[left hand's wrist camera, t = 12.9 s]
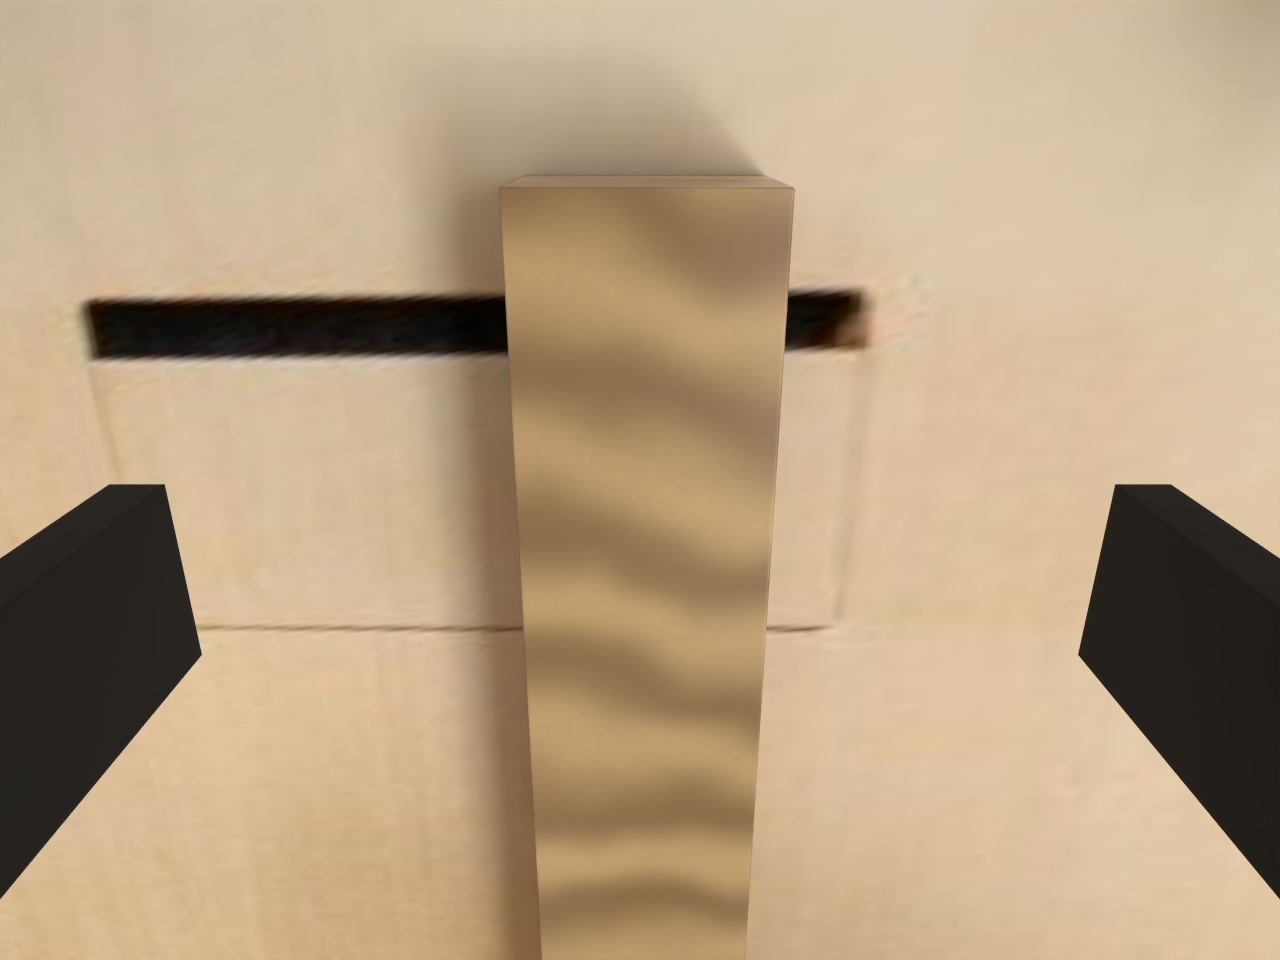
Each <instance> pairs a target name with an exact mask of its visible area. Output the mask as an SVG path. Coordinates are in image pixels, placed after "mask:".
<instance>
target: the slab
mask: <svg viewBox="0 0 1280 960" xmlns="http://www.w3.org/2000/svg"><path fill="white" fill-rule="evenodd" d="M794 193H795V189H794V188H793V187H791V186H788V185H786V184H784V183H781V182H779V181H777V180H774V179H772V178H770V177H767V176H639V175H525V176H523V177H521V178H519V179H517V180H515V181H512V182H510V183H508V184H506V185H504V186H502V187H500V189H499V194H500V212H501V230H502V248H503V266H504V284H505V303H506V321H507V339H508V357H509V375H510V393H511V411H512V430H513V448H514V466H515V484H516V502H517V520H518V538H519V556H520V575H521V593H522V611H523V629H524V647H525V665H526V683H527V702H528V720H529V738H530V756H531V774H532V792H533V810H534V829H535V847H536V865H537V883H538V901H539V919H540V937H541V956H542V960H745V949H746V933H747V918H748V903H749V887H750V872H751V856H752V841H753V826H754V810H755V795H756V779H757V764H758V748H759V733H760V718H761V702H762V687H763V671H764V656H765V641H766V625H767V610H768V594H769V579H770V563H771V548H772V533H773V517H774V502H775V486H776V471H777V456H778V440H779V425H780V409H781V394H782V378H783V363H784V348H785V332H786V317H787V301H788V286H789V271H790V255H791V240H792V224H793V209H794Z"/></svg>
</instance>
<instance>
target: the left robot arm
mask: <svg viewBox="0 0 1280 960" xmlns="http://www.w3.org/2000/svg"><path fill="white" fill-rule="evenodd" d="M201 655H202V653H201V649H200V644H199V639H198V635H197V630H196V626H195V621H194V617H193V612H192V607H191V603H190V598H189V594H188V589H187V584H186V580H185V575H184V571H183V566H182V562H181V557H180V552H179V548H178V543H177V539H176V534H175V530H174V525H173V520H172V516H171V511H170V507H169V502H168V497H167V493H166V488H165V484H109V485H108V486H106V487H105V488H103V489H102V490H100V491H99V492H97V493H96V494H94V495H93V496H92V497H90V498H89V499H87V500H86V501H84V502H83V503H81V504H80V505H78V506H77V507H75V508H74V509H72V510H71V511H69V512H68V513H66V514H65V515H64V516H62V517H61V518H59V519H58V520H56V521H55V522H53V523H52V524H50V525H49V526H47V527H46V528H44V529H43V530H41V531H40V532H39V533H37V534H36V535H34V536H33V537H31V538H30V539H28V540H27V541H25V542H24V543H22V544H21V545H19V546H18V547H16V548H15V549H13V550H12V551H11V552H9V553H8V554H6V555H5V556H3V557H2V558H0V899H1V898H2V896H3V895H4V894H5V893H6V892H7V890H8V889H9V888H10V887H11V885H12V884H13V883H14V882H15V881H16V879H17V878H18V877H19V876H20V875H21V873H22V872H23V871H24V870H25V868H26V867H27V866H28V865H29V864H30V862H31V861H32V860H33V859H34V858H35V856H36V855H37V854H38V853H39V852H40V850H41V849H42V848H43V847H44V845H45V844H46V843H47V842H48V841H49V839H50V838H51V837H52V836H53V835H54V833H55V832H56V831H57V830H58V829H59V827H60V826H61V825H62V824H63V822H64V821H65V820H66V819H67V818H68V816H69V815H70V814H71V813H72V812H73V810H74V809H75V808H76V807H77V805H78V804H79V803H80V802H81V801H82V799H83V798H84V797H85V796H86V795H87V793H88V792H89V791H90V790H91V789H92V787H93V786H94V785H95V784H96V782H97V781H98V780H99V779H100V778H101V776H102V775H103V774H104V773H105V772H106V770H107V769H108V768H109V767H110V765H111V764H112V763H113V762H114V761H115V759H116V758H117V757H118V756H119V755H120V753H121V752H122V751H123V750H124V749H125V747H126V746H127V745H128V744H129V742H130V741H131V740H132V739H133V738H134V736H135V735H136V734H137V733H138V732H139V730H140V729H141V728H142V727H143V726H144V724H145V723H146V722H147V721H148V719H149V718H150V717H151V716H152V715H153V713H154V712H155V711H156V710H157V709H158V707H159V706H160V705H161V704H162V702H163V701H164V700H165V699H166V698H167V696H168V695H169V694H170V693H171V692H172V690H173V689H174V688H175V687H176V686H177V684H178V683H179V682H180V681H181V679H182V678H183V677H184V676H185V675H186V673H187V672H188V671H189V670H190V669H191V667H192V666H193V665H194V664H195V663H196V661H197V660H198V659H199V658H200V656H201ZM1078 655H1079V656H1080V658H1081V659H1082V660H1083V661H1084V663H1085V664H1086V665H1087V666H1088V667H1089V669H1090V670H1091V671H1092V672H1093V673H1094V675H1095V676H1096V677H1097V678H1098V679H1099V681H1100V682H1101V683H1102V684H1103V686H1104V687H1105V688H1106V689H1107V690H1108V692H1109V693H1110V694H1111V695H1112V696H1113V698H1114V699H1115V700H1116V701H1117V702H1118V704H1119V705H1120V706H1121V707H1122V709H1123V710H1124V711H1125V712H1126V713H1127V715H1128V716H1129V717H1130V718H1131V719H1132V721H1133V722H1134V723H1135V724H1136V726H1137V727H1138V728H1139V729H1140V730H1141V732H1142V733H1143V734H1144V735H1145V736H1146V738H1147V739H1148V740H1149V741H1150V742H1151V744H1152V745H1153V746H1154V747H1155V749H1156V750H1157V751H1158V752H1159V753H1160V755H1161V756H1162V757H1163V758H1164V759H1165V761H1166V762H1167V763H1168V764H1169V766H1170V767H1171V768H1172V769H1173V770H1174V772H1175V773H1176V774H1177V775H1178V776H1179V778H1180V779H1181V780H1182V781H1183V782H1184V784H1185V785H1186V786H1187V787H1188V789H1189V790H1190V791H1191V792H1192V793H1193V795H1194V796H1195V797H1196V798H1197V799H1198V801H1199V802H1200V803H1201V804H1202V805H1203V807H1204V808H1205V809H1206V810H1207V812H1208V813H1209V814H1210V815H1211V816H1212V818H1213V819H1214V820H1215V821H1216V822H1217V824H1218V825H1219V826H1220V827H1221V829H1222V830H1223V831H1224V832H1225V833H1226V835H1227V836H1228V837H1229V838H1230V839H1231V841H1232V842H1233V843H1234V844H1235V845H1236V847H1237V848H1238V849H1239V850H1240V852H1241V853H1242V854H1243V855H1244V856H1245V858H1246V859H1247V860H1248V861H1249V862H1250V864H1251V865H1252V866H1253V867H1254V868H1255V870H1256V871H1257V872H1258V873H1259V875H1260V876H1261V877H1262V878H1263V879H1264V881H1265V882H1266V883H1267V884H1268V885H1269V887H1270V888H1271V889H1272V890H1273V892H1274V893H1275V894H1276V895H1277V896H1278V898H1279V899H1280V558H1278V557H1277V556H1275V555H1274V554H1272V553H1271V552H1269V551H1268V550H1267V549H1265V548H1264V547H1262V546H1261V545H1259V544H1258V543H1256V542H1255V541H1253V540H1252V539H1250V538H1249V537H1247V536H1246V535H1244V534H1243V533H1241V532H1240V531H1239V530H1237V529H1236V528H1234V527H1233V526H1231V525H1230V524H1228V523H1227V522H1225V521H1224V520H1222V519H1221V518H1219V517H1218V516H1216V515H1215V514H1214V513H1212V512H1211V511H1209V510H1208V509H1206V508H1205V507H1203V506H1202V505H1200V504H1199V503H1197V502H1196V501H1194V500H1193V499H1191V498H1190V497H1188V496H1187V495H1186V494H1184V493H1183V492H1181V491H1180V490H1178V489H1177V488H1175V487H1174V486H1172V485H1171V484H1115V488H1114V493H1113V497H1112V502H1111V507H1110V511H1109V516H1108V520H1107V525H1106V530H1105V534H1104V539H1103V543H1102V548H1101V552H1100V557H1099V562H1098V566H1097V571H1096V575H1095V580H1094V584H1093V589H1092V594H1091V598H1090V603H1089V607H1088V612H1087V617H1086V621H1085V626H1084V630H1083V635H1082V639H1081V644H1080V649H1079V653H1078Z"/></svg>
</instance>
